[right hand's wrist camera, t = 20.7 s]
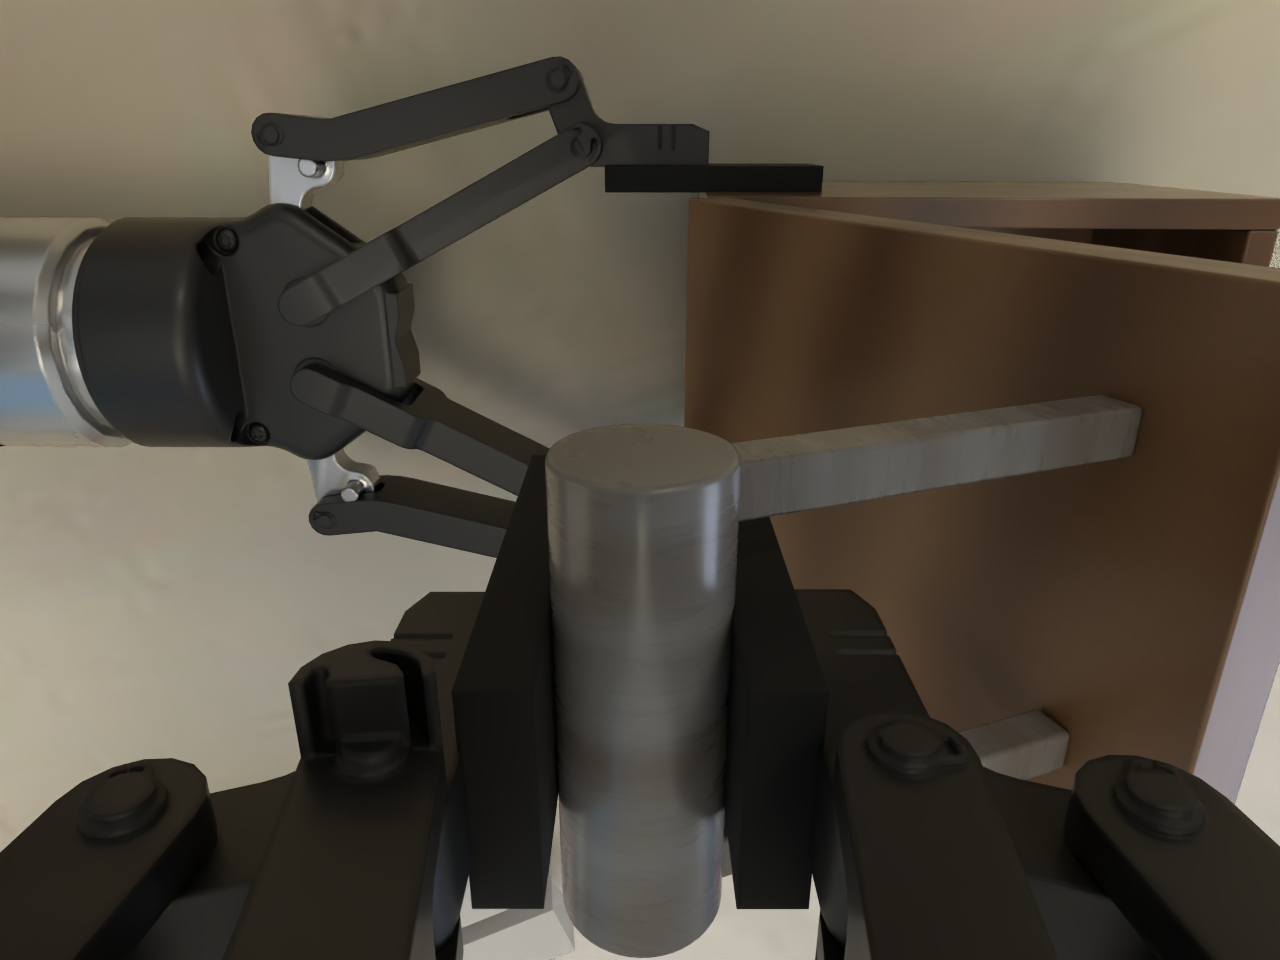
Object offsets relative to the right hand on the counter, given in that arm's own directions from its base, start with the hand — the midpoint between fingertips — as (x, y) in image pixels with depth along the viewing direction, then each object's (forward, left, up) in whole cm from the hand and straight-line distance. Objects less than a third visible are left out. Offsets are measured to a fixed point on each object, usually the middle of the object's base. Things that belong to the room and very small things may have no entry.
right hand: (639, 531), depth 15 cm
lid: (-3, +5, -4) cm, 7 cm away
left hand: (-3, +5, -16) cm, 16 cm away
